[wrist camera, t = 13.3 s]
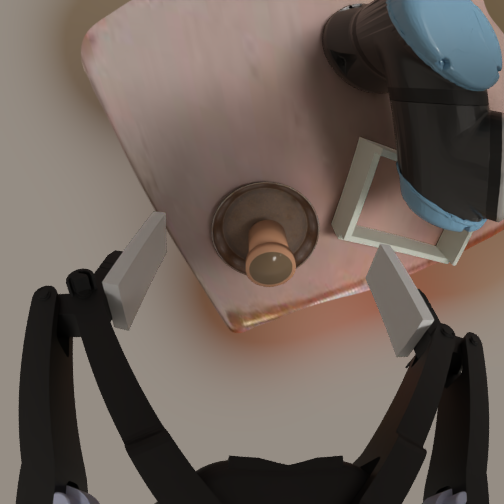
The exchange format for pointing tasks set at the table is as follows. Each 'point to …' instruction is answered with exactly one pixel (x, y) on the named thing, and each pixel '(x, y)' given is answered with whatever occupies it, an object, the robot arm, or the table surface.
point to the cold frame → (347, 230)
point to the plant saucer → (263, 208)
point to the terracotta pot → (269, 255)
